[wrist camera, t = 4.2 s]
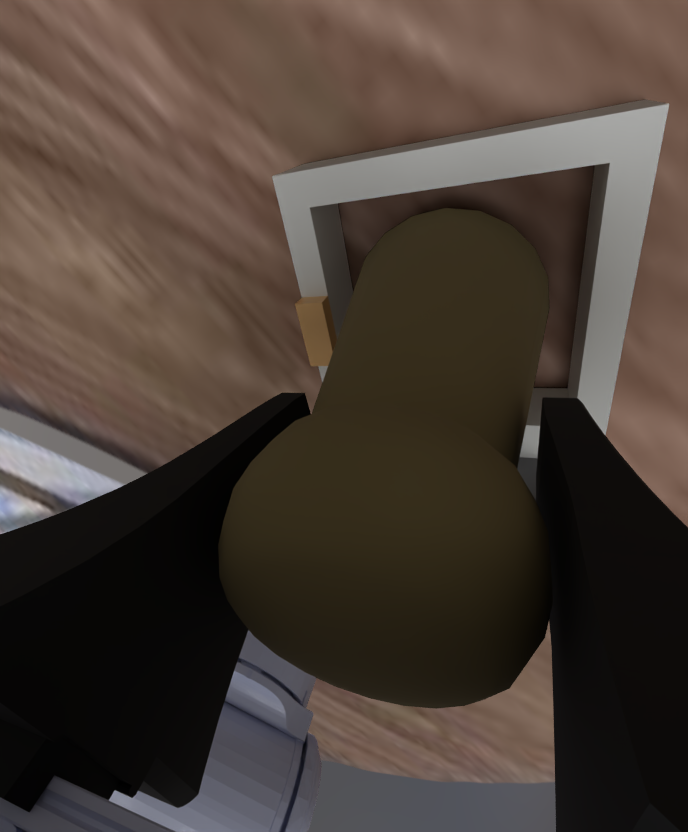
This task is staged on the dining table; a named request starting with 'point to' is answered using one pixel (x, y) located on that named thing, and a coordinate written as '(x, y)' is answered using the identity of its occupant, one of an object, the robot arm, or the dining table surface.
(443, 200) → the dining table surface
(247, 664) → the robot arm
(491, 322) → the brown pear
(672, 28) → the dining table surface
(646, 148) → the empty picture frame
